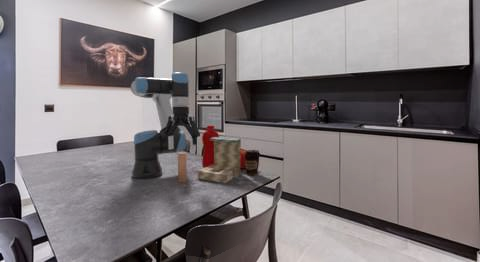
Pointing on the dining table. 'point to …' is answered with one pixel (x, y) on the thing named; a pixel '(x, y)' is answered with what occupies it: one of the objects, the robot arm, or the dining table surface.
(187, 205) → the dining table surface
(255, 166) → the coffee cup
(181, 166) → the peg
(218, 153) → the socket awning
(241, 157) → the tomato
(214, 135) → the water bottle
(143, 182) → the dining table surface
